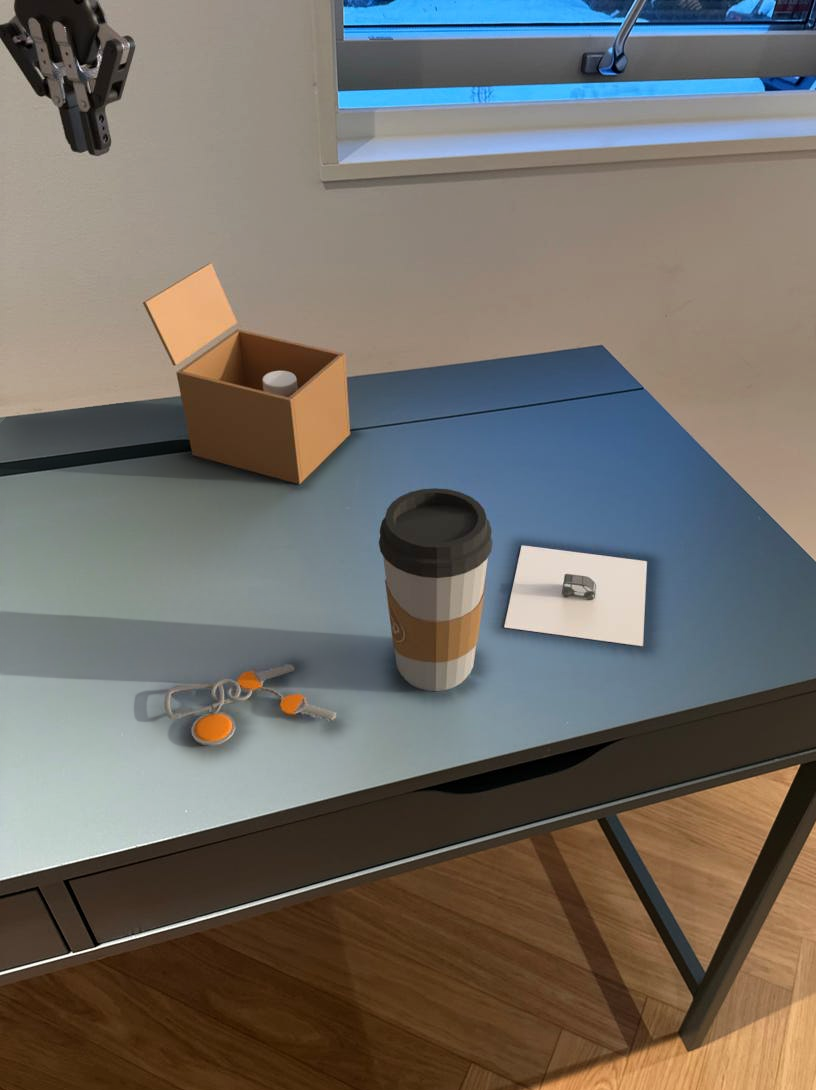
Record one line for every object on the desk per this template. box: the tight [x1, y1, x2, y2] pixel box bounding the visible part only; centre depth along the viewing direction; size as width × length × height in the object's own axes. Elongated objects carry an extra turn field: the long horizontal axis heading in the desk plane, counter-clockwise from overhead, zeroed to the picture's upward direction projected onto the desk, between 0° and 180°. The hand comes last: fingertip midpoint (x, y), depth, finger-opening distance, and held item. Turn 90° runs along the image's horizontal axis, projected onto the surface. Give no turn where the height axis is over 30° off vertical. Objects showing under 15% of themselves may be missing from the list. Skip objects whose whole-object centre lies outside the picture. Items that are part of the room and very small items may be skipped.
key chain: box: [163, 663, 337, 746], centre depth 73 cm, size 13×7×1 cm, turn 104°
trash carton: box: [175, 328, 351, 485], centre depth 98 cm, size 13×11×10 cm
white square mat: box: [503, 544, 648, 647], centre depth 84 cm, size 12×12×2 cm
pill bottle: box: [262, 371, 298, 398], centre depth 98 cm, size 4×4×8 cm
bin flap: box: [142, 262, 238, 367], centre depth 94 cm, size 6×11×1 cm
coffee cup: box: [378, 487, 493, 692], centre depth 72 cm, size 8×8×15 cm
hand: (90, 151), depth 87 cm, fingers closed
